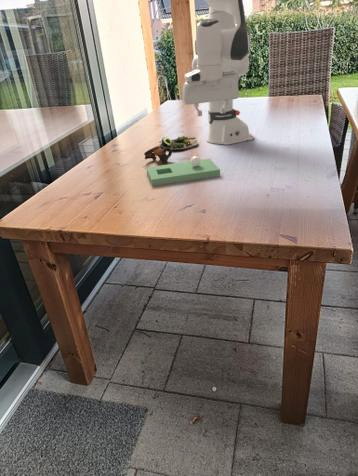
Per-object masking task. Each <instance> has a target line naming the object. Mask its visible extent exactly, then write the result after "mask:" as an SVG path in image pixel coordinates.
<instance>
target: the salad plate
mask: <svg viewBox="0 0 358 476" xmlns="http://www.w3.org/2000/svg"><path fill="white" fill-rule="evenodd" d="M195 139H196V137H195V136H194V137H189V136H188V135H187V136H185V135H184V136H178V137H177V138H173V139H170V138H168V137H166V136H163V137H162V139H161V140H160V141H159V142H158V143H159V145H158V146H159V147H160V148H161V149H164V148H166V147H170V148H171V150H172V153H175V152H178V153H179V152H183V151H185V150H190V149H193V148H195V147H197V145H199V141H197V140H195ZM188 143H189V144H193V145H190V146H188V145H187V144H188ZM194 146H195V147H194ZM189 148H190V149H189ZM166 152H169V151H168V150H167V151H166Z"/></svg>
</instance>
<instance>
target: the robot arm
mask: <svg viewBox="0 0 358 476" xmlns="http://www.w3.org/2000/svg"><path fill="white" fill-rule="evenodd" d="M204 2H205V3H206V4H207V6H208V19H204V20H201V21H199V22H198V23H197V25H196V33H195V41H194V48H195V49H194V51H195V52H194V53H195V55H194V57H193V59H192V62H191V69H192V70H191V71H189V72H187V73H185V74H184V76H183V78H184V80H185V82H184V83H183V84H182V93H181V94H182V97H181V98H182V102H183V104H185V105H187V106H189V105H193V108H194V109H195V111H196V116H197V117H202V116H203V111H202V110H200V109H199V105H200V104H204V103H205V104H206V103H208V114H207V121H208V133H207V138H206V142H208V143H211V144H216V145H217V144H218V145H225V146H228V145H232V144H236V143H237V144H238V143H243V142H246V141H247V140H248V141H252V140H254V139H253V138H254V135H253V134H252V132H250V131H249V130H250V129H249V126H248V125H247V123H246V122H245V121H243V120H241V118H239V117H237V116H239V115H240V114H241V112H240V110H237V109H235V108H233V107H234V106H233V105H234V104H233V103H234V102H233V101H234V100H238V98H239V96H240V91H239V90H240V89H239V82H240V81H239V79H240V78H239V77H242V76H244V75H246V74H247V72H248V70H249V68H250V59H249V56H248V54H249V52H250V48H251V43H250V42H251V41H250V40H251V39H250V35H249V33H248V29H247V22H246V20H247V19H246V15H245V7H244V3H243V0H204ZM248 141H247V142H248Z"/></svg>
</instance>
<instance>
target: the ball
mask: <svg viewBox="0 0 358 476" xmlns="http://www.w3.org/2000/svg"><path fill="white" fill-rule="evenodd" d="M201 160H202V159H201V158H200V157H199V156H196V155H194V156H192V157H191V159H190V162H191V165H192V166H194V167H197V166H199V165H200V163H201Z"/></svg>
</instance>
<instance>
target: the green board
mask: <svg viewBox="0 0 358 476" xmlns="http://www.w3.org/2000/svg"><path fill="white" fill-rule="evenodd" d="M200 160H201V163H200V165H199V166H197V167H194V166H192V165H191V162H190V161H191V160H190V161H183V162H177V163H167V164H164V165H161V166H158V165H155V166H148V167H146V174H147V177H148V179H149V181H150V184H151V186H152V187H157V186H162V185H169V184H176V183H181V182H189V181H197V180H201V179H203V180H204V179H208V178H215V177H216V178H217V177H221V170H220V168H219V167H218V166H217V164H216V163H215V162H213V160H212V159H211V158H203V159H200Z"/></svg>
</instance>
